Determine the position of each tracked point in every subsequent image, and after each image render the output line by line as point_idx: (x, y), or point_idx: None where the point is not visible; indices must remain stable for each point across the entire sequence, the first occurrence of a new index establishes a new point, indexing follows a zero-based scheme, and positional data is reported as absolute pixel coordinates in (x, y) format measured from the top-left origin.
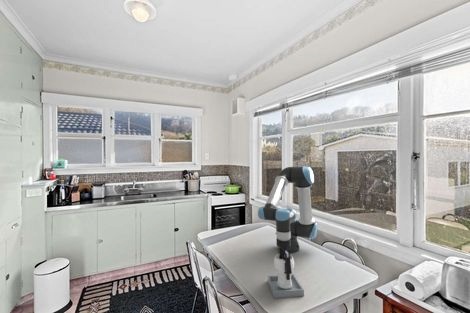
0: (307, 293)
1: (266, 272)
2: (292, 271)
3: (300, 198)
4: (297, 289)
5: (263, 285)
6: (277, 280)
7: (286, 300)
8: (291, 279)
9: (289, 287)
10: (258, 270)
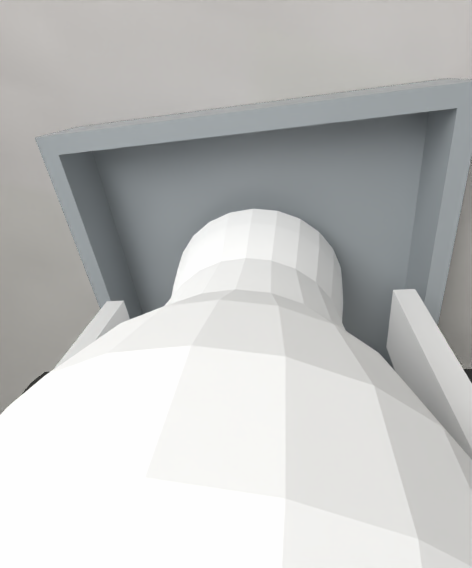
0: (404, 2)
1: (16, 359)
2: (365, 346)
3: None
4: (446, 183)
5: None
6: (144, 312)
7: (467, 295)
8: (99, 166)
9: (334, 256)
10: (6, 403)
